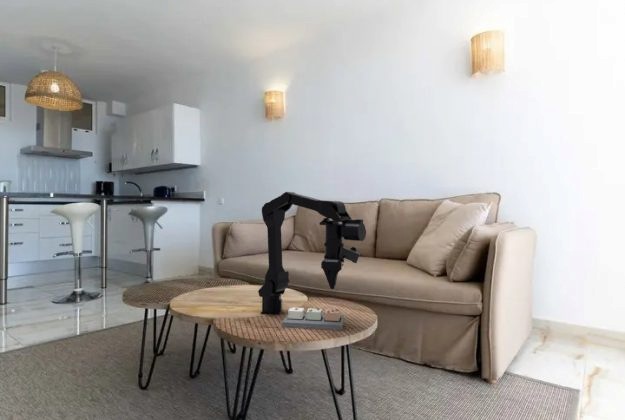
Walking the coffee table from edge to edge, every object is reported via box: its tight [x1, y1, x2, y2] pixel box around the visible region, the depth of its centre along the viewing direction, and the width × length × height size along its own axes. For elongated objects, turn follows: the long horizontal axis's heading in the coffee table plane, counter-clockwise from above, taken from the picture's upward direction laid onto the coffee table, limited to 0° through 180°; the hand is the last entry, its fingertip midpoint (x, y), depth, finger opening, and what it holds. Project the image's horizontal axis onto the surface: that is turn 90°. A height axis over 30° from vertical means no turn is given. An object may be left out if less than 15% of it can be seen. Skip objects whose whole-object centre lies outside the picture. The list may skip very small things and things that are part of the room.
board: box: [281, 312, 345, 331], centre depth 130 cm, size 19×12×2 cm, turn 82°
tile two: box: [306, 307, 323, 320], centre depth 130 cm, size 4×4×3 cm
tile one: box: [287, 306, 305, 319], centre depth 131 cm, size 4×4×3 cm
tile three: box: [324, 308, 341, 322], centre depth 129 cm, size 4×4×3 cm
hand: (333, 287), depth 129 cm, fingers open, 5 cm apart
